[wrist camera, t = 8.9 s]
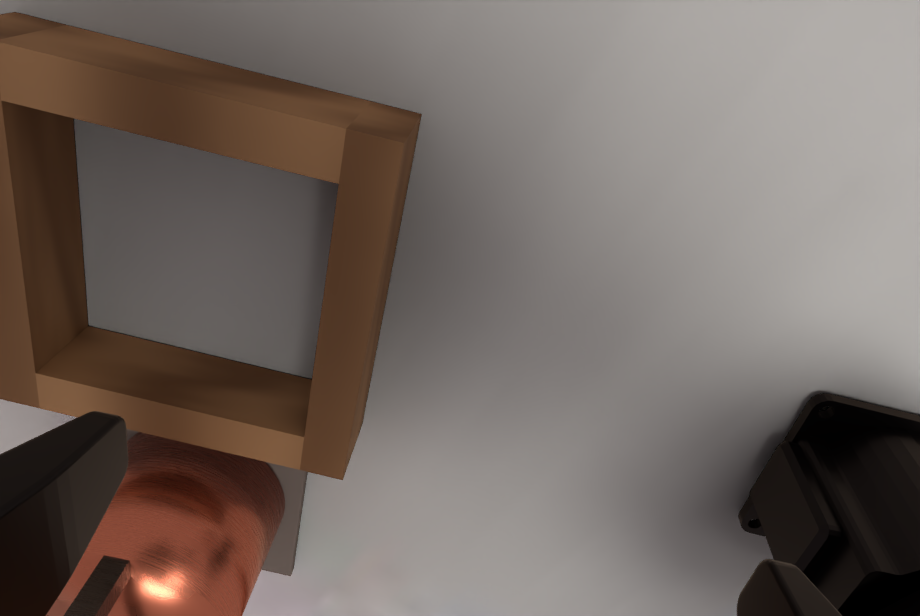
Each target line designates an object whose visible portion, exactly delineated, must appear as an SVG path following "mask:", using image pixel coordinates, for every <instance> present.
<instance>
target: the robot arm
mask: <svg viewBox="0 0 920 616" xmlns="http://www.w3.org/2000/svg"><path fill="white" fill-rule="evenodd" d="M826 406H827V407H829V408H828V409H827V410H824V411H819V410H820V409H821V408H823V407H826ZM127 467H128V444H127V431H126V423H125V420H124V419H123V418H122V417H120V416H118V415H113V414H109V413H104V412H100V411H92V412H89V413H86V414H84V415H82V416H80V417H78V418H76V419H73V420H71V421H69V422H67V423H65V424H63V425H61V426H59V427H57V428H55V429H52V430H50V431H48V432H46V433H44V434H42V435H40V436H38V437H36V438H34V439H31V440H29V441H27V442H25V443H23V444H21V445H19V446H17V447H15V448H13V449H10V450H8V451H6V452H4V453H2V454H0V616H46V615H47V613H48V612H49V610H50V609H51V607H52V606H53V604H54V603H55V601H56V600H57V598H58V597H59V595H60V594H61V592H62V590H63V589H64V587H65V586H66V584H67V583H68V581H69V579H70V578H71V576H72V574H73V573H74V571H75V569H76V567H77V565H78V564H79V562H80V560H81V558H82V556H83V554H84V553H85V551H86V549H87V547H88V545H89V543H90V541H91V539H92V537H93V535H94V534H95V532H96V530H97V528H98V526H99V524H100V522H101V520H102V518H103V516H104V515H105V513H106V511H107V509H108V507H109V505H110V503H111V501H112V499H113V497H114V496H115V494H116V492H117V490H118V488H119V486H120V484H121V482H122V480H123V478H124V476H125V474H126V471H127ZM738 517H739V521H740V523H741V526H742V528H743V529H744V530H745V531H747V532H749V533H753V534H757V535H762V536H766V539H767V541H768V544H769V547H770V550H771V552H772V555H773V558H774V560H772V559H765V560H763V561H761V562H760V564H759V565H758V566H757V568H756V569H755V571H754V573H753V574H752V576H751V577H750V579H749V581H748V582H747V584H746V585H745V587H744V588H743V590H742V592H741V593H740V595H739V598H738V603H737V616H920V416H918V415H914V414H910V413H906V412H902V411H898V410H894V409H890V408H885V407H881V406H877V405H873V404H869V403H865V402H861V401H857V400H853V399H849V398H845V397H840V396H836V395H832V394H826V393H823V394H818V395H816V396H814V397H812V398H811V399H810V400H809V401H808V403H807V404H806V406H805V408H804V409H803V411H802V412H801V414H800V416H799V417H798V419H797V420H796V422H795V424H794V425H793V427H792V429H791V430H790V432H789V433H788V435H787V437H786V438H785V440H784V441H783V442H782V443H781V444H780V445H779V446H778V447H777V449H776V450H775V452H774V454H773V455H772V457H771V458H770V460H769V462H768V463H767V465H766V467H765V468H764V470H763V471H762V473H761V475H760V476H759V478H758V480H757V481H756V483H755V484H754V486H753V488H752V489H751V491H750V496H749V498H748V500H747V501H746V503H745V504H744V506H743V508H742V509H741V511H740V513H739V516H738ZM752 519H756V520H752Z"/></svg>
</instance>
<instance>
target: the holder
mask: <svg viewBox="0 0 920 616" xmlns="http://www.w3.org/2000/svg"><path fill="white" fill-rule="evenodd" d="M421 115H422V114H419V113H415V112H411V111H407V110H403V109H399V108H395V107H391V106H387V105H383V104H379V103H375V102H372V101H368V100H364V99H360V98H356V97H352V96H348V95H344V94H340V93H336V92H332V91H328V90H324V89H320V88H316V87H312V86H308V85H304V84H300V83H296V82H292V81H288V80H284V79H280V78H276V77H272V76H268V75H264V74H260V73H256V72H252V71H248V70H244V69H240V68H236V67H232V66H228V65H224V64H220V63H216V62H212V61H208V60H204V59H200V58H196V57H192V56H188V55H184V54H180V53H176V52H172V51H168V50H164V49H160V48H156V47H152V46H148V45H144V44H140V43H136V42H132V41H128V40H124V39H120V38H116V37H112V36H108V35H104V34H100V33H96V32H92V31H89V30H85V29H81V28H77V27H73V26H69V25H65V24H61V23H57V22H53V21H49V20H45V19H41V18H37V17H33V16H29V15H25V14H21V13H17V12H12V13H6V14H1V15H0V399H3V400H7V401H11V402H16V403H20V404H24V405H28V406H32V407H37V408H41V409H45V410H49V411H54V412H58V413H62V414H66V415H70V416H75V417H80V416H82V415H84V414H86V413H89V412H92V411H100V412H104V413H109V414H113V415H118V416H120V417H122V418H123V419H124V420H125V423H126V429H129V430H134V431H138V432H142V433H146V434H151V435H155V436H159V437H163V438H167V439H172V440H176V441H180V442H184V443H188V444H193V445H197V446H201V447H205V448H210V449H214V450H218V451H222V452H226V453H231V454H235V455H239V456H243V457H247V458H252V459H256V460H260V461H264V462H269V463H273V464H277V465H281V466H285V467H290V468H294V469H298V470H302V471H307V472H311V473H315V474H319V475H323V476H328V477H332V478H336V479H340V480H343V478H344V475H345V472H346V469H347V466H348V463H349V460H350V458H351V455H352V452H353V449H354V446H355V443H356V440H357V438H358V435H359V432H360V429H361V426H362V423H363V418H364V412H365V407H366V402H367V397H368V392H369V386H370V381H371V376H372V371H373V365H374V360H375V355H376V350H377V345H378V339H379V334H380V329H381V324H382V319H383V313H384V308H385V303H386V298H387V292H388V287H389V282H390V277H391V272H392V266H393V261H394V256H395V251H396V246H397V240H398V235H399V230H400V225H401V220H402V214H403V209H404V204H405V199H406V193H407V188H408V183H409V178H410V173H411V167H412V162H413V157H414V152H415V147H416V141H417V136H418V131H419V126H420V120H421ZM73 118H74V119H78V120H82V121H86V122H90V123H95V124H99V125H103V126H107V127H111V128H115V129H119V130H123V131H127V132H131V133H135V134H139V135H143V136H147V137H151V138H155V139H159V140H163V141H167V142H171V143H175V144H179V145H183V146H187V147H191V148H195V149H199V150H204V151H208V152H212V153H216V154H220V155H224V156H228V157H232V158H236V159H240V160H244V161H248V162H252V163H256V164H260V165H264V166H268V167H272V168H276V169H280V170H284V171H288V172H292V173H296V174H300V175H304V176H309V177H313V178H317V179H321V180H325V181H329V182H333V183H337V184H339V185H338V193H337V200H336V207H335V215H334V222H333V229H332V237H331V244H330V252H329V259H328V266H327V274H326V281H325V288H324V296H323V303H322V310H321V318H320V325H319V332H318V340H317V347H316V354H315V362H314V369H313V376H312V380H311V379H307V378H303V377H298V376H294V375H290V374H286V373H282V372H278V371H273V370H269V369H265V368H261V367H257V366H253V365H248V364H244V363H240V362H236V361H232V360H228V359H224V358H219V357H215V356H211V355H207V354H203V353H199V352H194V351H190V350H186V349H182V348H178V347H174V346H169V345H165V344H161V343H157V342H153V341H149V340H144V339H140V338H136V337H132V336H128V335H124V334H120V333H115V332H111V331H107V330H103V329H99V328H95V327H90V326H88V317H87V303H86V289H85V275H84V261H83V247H82V234H81V220H80V206H79V192H78V178H77V164H76V150H75V136H74V123H73Z"/></svg>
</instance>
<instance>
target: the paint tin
mask: <svg viewBox="0 0 920 616" xmlns="http://www.w3.org/2000/svg"><path fill="white" fill-rule="evenodd" d="M127 444H128V467H127V471H126V474H125V476H124V478H123V480H122V482H121V484H120V486H119V488H118V490H117V492H116V494H115V496H114V497H113V499H112V501H111V503H110V505H109V507H108V509H107V511H106V513H105V515H104V516H103V518H102V520H101V522H100V524H99V526H98V528H97V530H96V532H95V534H94V535H93V537H92V539H91V541H90V543H89V545H88V547H87V549H86V551H85V553H84V554H83V556H82V558H81V560H80V562H79V564H78V565H77V567H76V569H75V571H74V573H73V574H72V576H71V578H70V579H69V581H68V583H67V584H66V586H65V587H64V589H63V590H62V592H61V594H60V595H59V597H58V598H57V600H56V601H55V603H54V604H53V606H52V607H51V609H50V610H49V612H48V613H47V615H46V616H242V614H243V612H244V610H245V607H246V605H247V602H248V600H249V598H250V595H251V593H252V590H253V588H254V586H255V583H256V581H257V578H258V576H259V574H260V571H261V569H262V566H263V564H264V562H265V559H266V557H267V554H268V552H269V550H270V547H271V545H272V542H273V540H274V538H275V535H276V533H277V530H278V528H279V526H280V523H281V521H282V518H283V516H284V510H285V498H284V493H283V490H282V487H281V484H280V482H279V480H278V479H277V477H276V475H275V474H274V472H273V471H272V470H271V468H270V467H269V466H268V465H267V464H266V462H264V461H260V460H256V459H252V458H247V457H243V456H239V455H235V454H231V453H226V452H222V451H218V450H214V449H210V448H205V447H201V446H197V445H193V444H188V443H184V442H180V441H176V440H172V439H167V438H163V437H159V436H155V435H151V434H146V433H142V432H139V433H137V434H136V435H134V436H133V437H131V438H130V439H129V440H128V441H127Z"/></svg>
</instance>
